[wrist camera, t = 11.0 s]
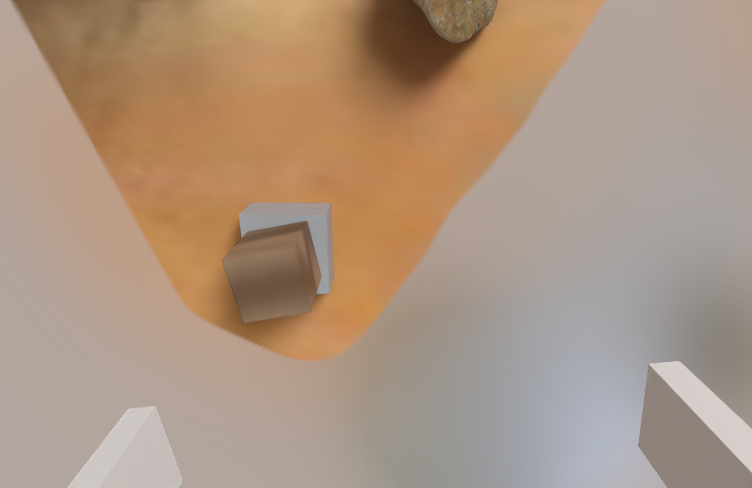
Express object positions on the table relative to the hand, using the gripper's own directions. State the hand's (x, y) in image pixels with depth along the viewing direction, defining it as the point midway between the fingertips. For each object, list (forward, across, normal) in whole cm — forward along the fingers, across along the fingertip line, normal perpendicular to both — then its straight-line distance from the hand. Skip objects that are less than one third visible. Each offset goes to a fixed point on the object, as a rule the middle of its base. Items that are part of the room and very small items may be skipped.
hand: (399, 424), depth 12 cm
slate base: (+28, -9, -4) cm, 29 cm away
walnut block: (+24, -9, -4) cm, 25 cm away
